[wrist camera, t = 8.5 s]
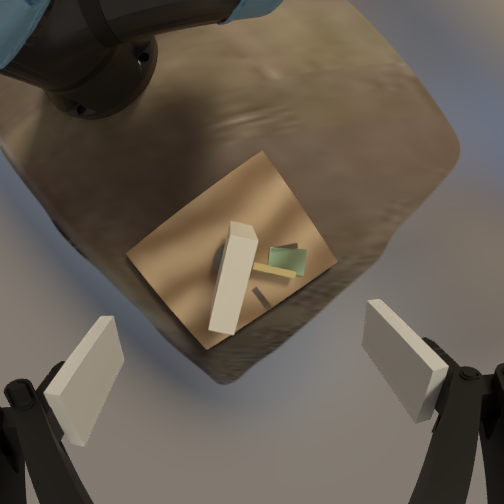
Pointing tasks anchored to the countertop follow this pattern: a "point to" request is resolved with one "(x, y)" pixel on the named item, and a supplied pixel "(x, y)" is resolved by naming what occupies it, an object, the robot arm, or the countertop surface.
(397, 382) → the robot arm
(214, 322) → the cream piece
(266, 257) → the light wood flat board
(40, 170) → the countertop surface
